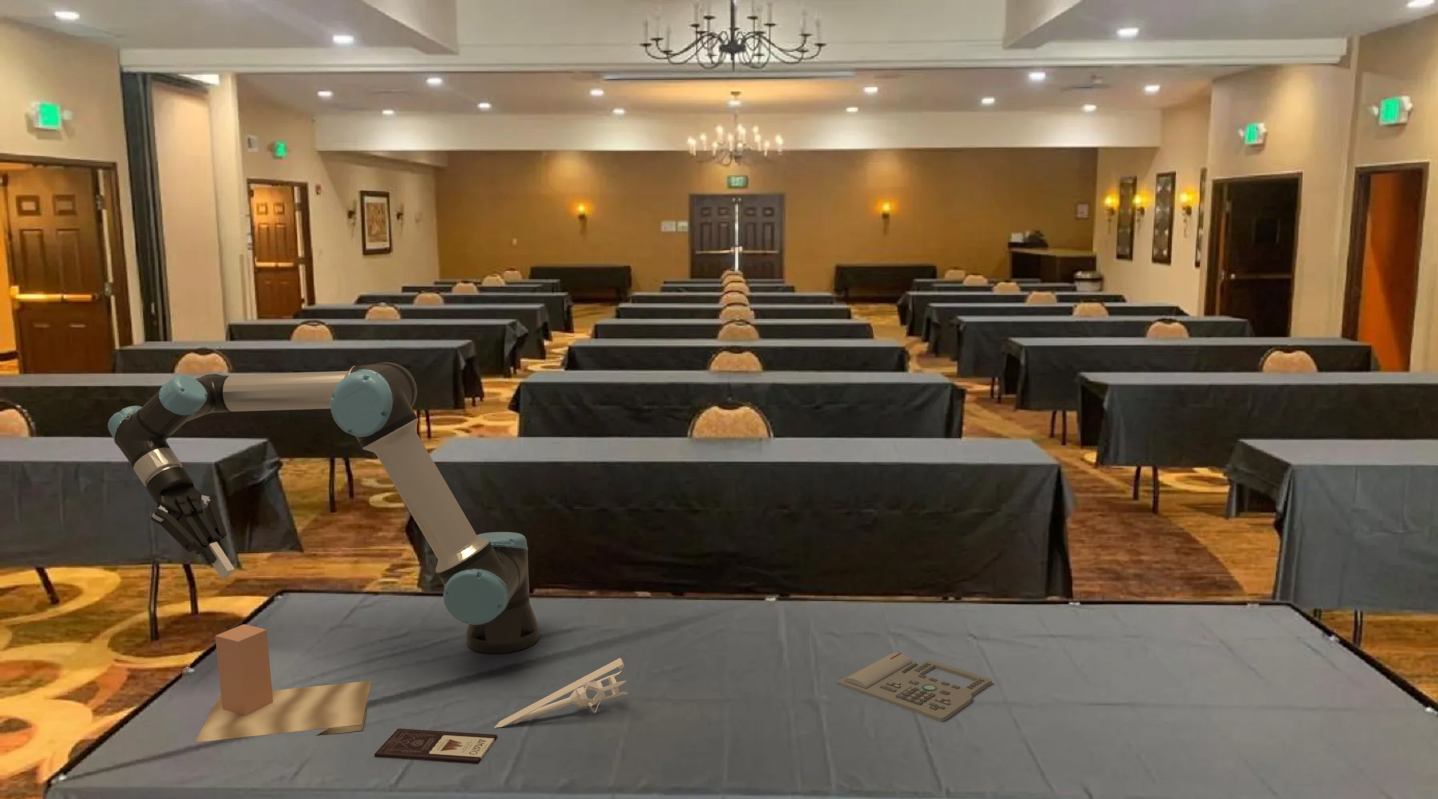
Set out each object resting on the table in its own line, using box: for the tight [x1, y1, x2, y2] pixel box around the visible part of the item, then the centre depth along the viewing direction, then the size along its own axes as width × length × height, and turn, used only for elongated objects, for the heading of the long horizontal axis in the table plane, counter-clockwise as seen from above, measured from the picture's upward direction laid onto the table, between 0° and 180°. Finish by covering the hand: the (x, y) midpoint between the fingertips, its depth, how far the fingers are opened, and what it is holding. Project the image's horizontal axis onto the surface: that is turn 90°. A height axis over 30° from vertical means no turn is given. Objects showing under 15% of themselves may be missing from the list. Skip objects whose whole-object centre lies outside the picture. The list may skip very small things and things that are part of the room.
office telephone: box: [836, 652, 993, 723], centre depth 202 cm, size 23×3×20 cm
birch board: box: [194, 680, 373, 744], centre depth 192 cm, size 27×18×1 cm, turn 103°
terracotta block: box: [214, 623, 273, 716], centre depth 192 cm, size 6×6×14 cm
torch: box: [493, 657, 630, 729], centre depth 191 cm, size 6×9×25 cm
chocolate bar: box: [373, 728, 498, 765], centre depth 180 cm, size 9×1×18 cm
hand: (228, 573), depth 201 cm, fingers closed
